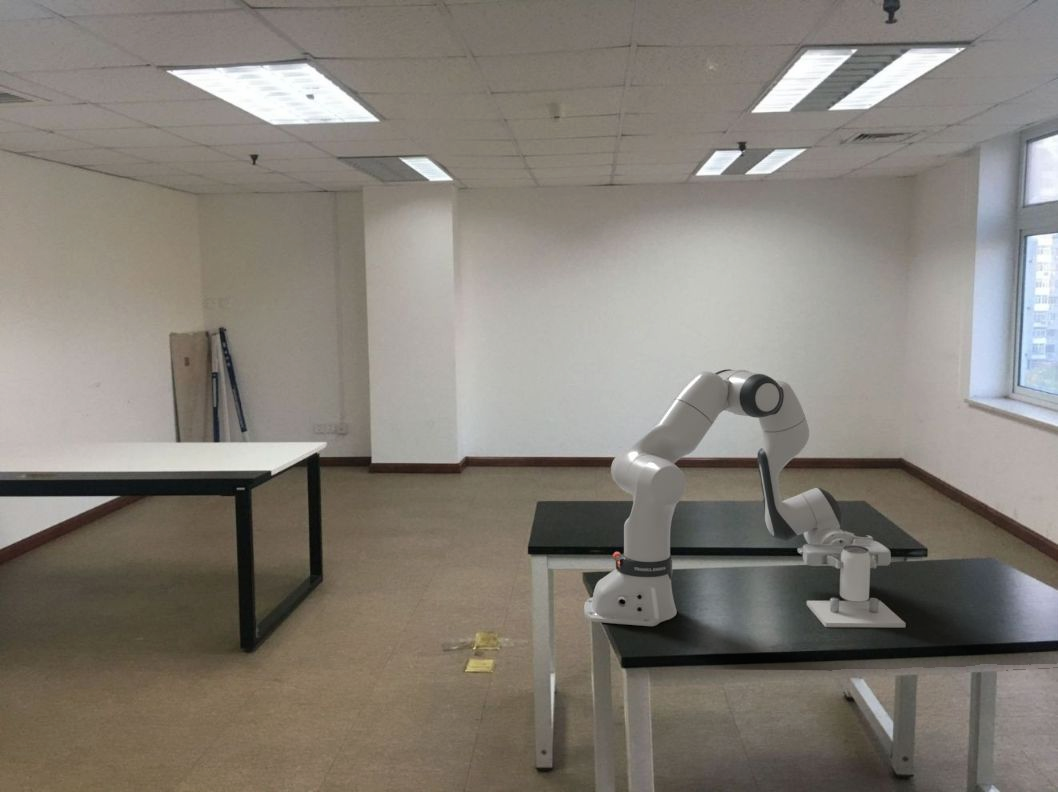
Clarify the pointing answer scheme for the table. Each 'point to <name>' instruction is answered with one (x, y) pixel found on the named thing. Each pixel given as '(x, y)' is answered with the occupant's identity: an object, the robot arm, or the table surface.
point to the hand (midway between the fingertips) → (857, 565)
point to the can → (855, 573)
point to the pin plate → (854, 613)
